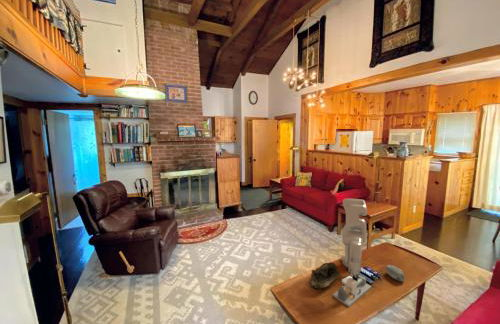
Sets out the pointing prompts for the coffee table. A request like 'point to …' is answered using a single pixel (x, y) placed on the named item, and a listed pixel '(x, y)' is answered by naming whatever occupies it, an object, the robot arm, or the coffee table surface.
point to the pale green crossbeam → (357, 285)
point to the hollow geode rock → (323, 275)
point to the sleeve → (351, 285)
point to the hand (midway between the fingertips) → (354, 281)
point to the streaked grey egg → (395, 273)
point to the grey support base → (352, 298)
